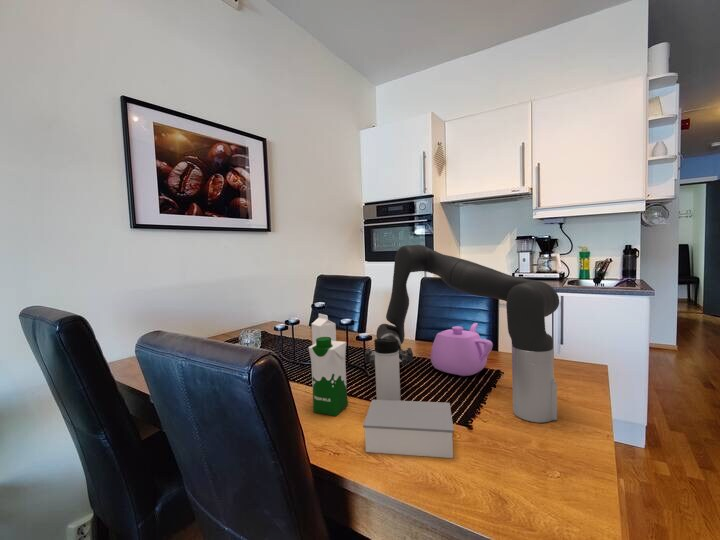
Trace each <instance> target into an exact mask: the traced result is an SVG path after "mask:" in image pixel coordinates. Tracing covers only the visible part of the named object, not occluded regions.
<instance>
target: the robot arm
mask: <svg viewBox="0 0 720 540" xmlns="http://www.w3.org/2000/svg"><path fill="white" fill-rule="evenodd" d="M395 253H396V254H395V257H394V264H393V267H394V268H393V277H392V286H391V287H392V288H391V295H390V299H389V304H388V306H387V311H386V315H385V319H386V321H387V322H388V323H381V324H379V326H378V327H377V330H376V335H375V336H376V339H382V338H386V339H391V340H392V339H397V340H398V350H399V352H398V353H399V363H401V365H402V367H405V366H407V364H408V362H410V363H412V362H414V356H413V355H414V352H413V349H412V348H411V347H408V348H406V350H403V349H402V345H403V343H404V341H405V334H406V333H405V322H406V317H407V314H408V310H409V306H410V297H409V296H410V295H409V293H408V288H407V283H408V279H409V277H410V274H411V273H418V272H424V273H425V272H426V273H430V274H433V275H436V276H438V277H440V279H441V280H442V281H443V282H444V283H445V284H446V285H447V286H448V287H450V288H451V289H455V290H456V291H459V292H461V293H465V294H467V295H471V296H475V297H483V298H490V299H496V300H500V301H503V302H506V304H505V305H506V308H505V309H506V319H507V332H508V335H509V337H510V340H511V369H512V370H511V371H512V372H511V373H512V377H511V378H512V380H511V381H512V382H511V383H512V384H511V385H512V412H513V414H514V415H515V416H516V417H517V418H519V419H522V420H524V421H527V422H532V423H548V422H551V421H558V383H557V380H556V379H554V339H553V337H552V335H550V334H549V333H547V331H546V319H545V317H548V316H550V315H552V314H554V312H556V311H557V310H558V308H559V305H560V297H559V294H558V292H557V291H556V290H555V288H553V287H552V286H551V285H550V284H548V283H546V282H544V281H540V280H535V279H529V278H524V277H519V276H515V275H510V274H507V273H504V272H502V271H499V270H497V269H494V268H490V267H487V266H485V265H482V264H479V263H476V262H473V261H470V260H467V259H463V258H459V257H456V256H452V255H447V254H443V253H441V252H438V251H436V250H434V249H432V248H429V247H427V246H425V245H421V244H411V245H410V244H409V245H408V244H406V245H403V246H400V247H399V248H398V249H397V251H396V252H395ZM389 323H390V324H389ZM364 362H365V363H369V365H370V366H372V367H375V350H372V349H371V348H366V351H365V352H364Z"/></svg>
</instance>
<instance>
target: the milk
mask: <svg viewBox="0 0 720 540" xmlns="http://www.w3.org/2000/svg"><path fill="white" fill-rule="evenodd" d="M336 327H337V326H336V322H333V321H331V320H330V319H329V317H328V315H327V314H323V313H318V317H317V318H316V319H315V320H314V321H313V322H311V338H312V345H314V344H316V339H317V338H320V337H330V338H331V341H337V331H336V330H337V328H336Z"/></svg>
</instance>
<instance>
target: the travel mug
mask: <svg viewBox="0 0 720 540" xmlns="http://www.w3.org/2000/svg"><path fill="white" fill-rule="evenodd" d="M374 351H375V366H374V368H375V369H374V370H375V371H374V373H375V388H376V389H375V392H376V400H395V401H402V400H401V378H400V376H401V374H400V362H399V353H398V352H399V350H398V340H397V339H392V340H391V339H386V338H382V339H377V338H376V339H374Z"/></svg>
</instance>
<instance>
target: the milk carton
mask: <svg viewBox="0 0 720 540" xmlns="http://www.w3.org/2000/svg"><path fill="white" fill-rule="evenodd" d="M346 350H347V341H341V340H336V341H331V338H330V337H320V338H317V339H316V344H314V345H313V344H311V345H310V346H308V352H309V357H310V362H311V363H310V364H311V380H312V381H311V382H312V383H311V385H312V405H313V406H312V407H313V411H312V412H313V413H315V414H316V413H317V414H320V415H321V414H323V415H327V416H333V417H337V416H338V415H339V414H340V413H341V412H342V411H343V410H344V409H345V408H346V407H347V406H348V405H349V402H348V401H349V400H348V391H347V390H348V389H347V370H346V367H347V366H346V353H347V351H346Z"/></svg>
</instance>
